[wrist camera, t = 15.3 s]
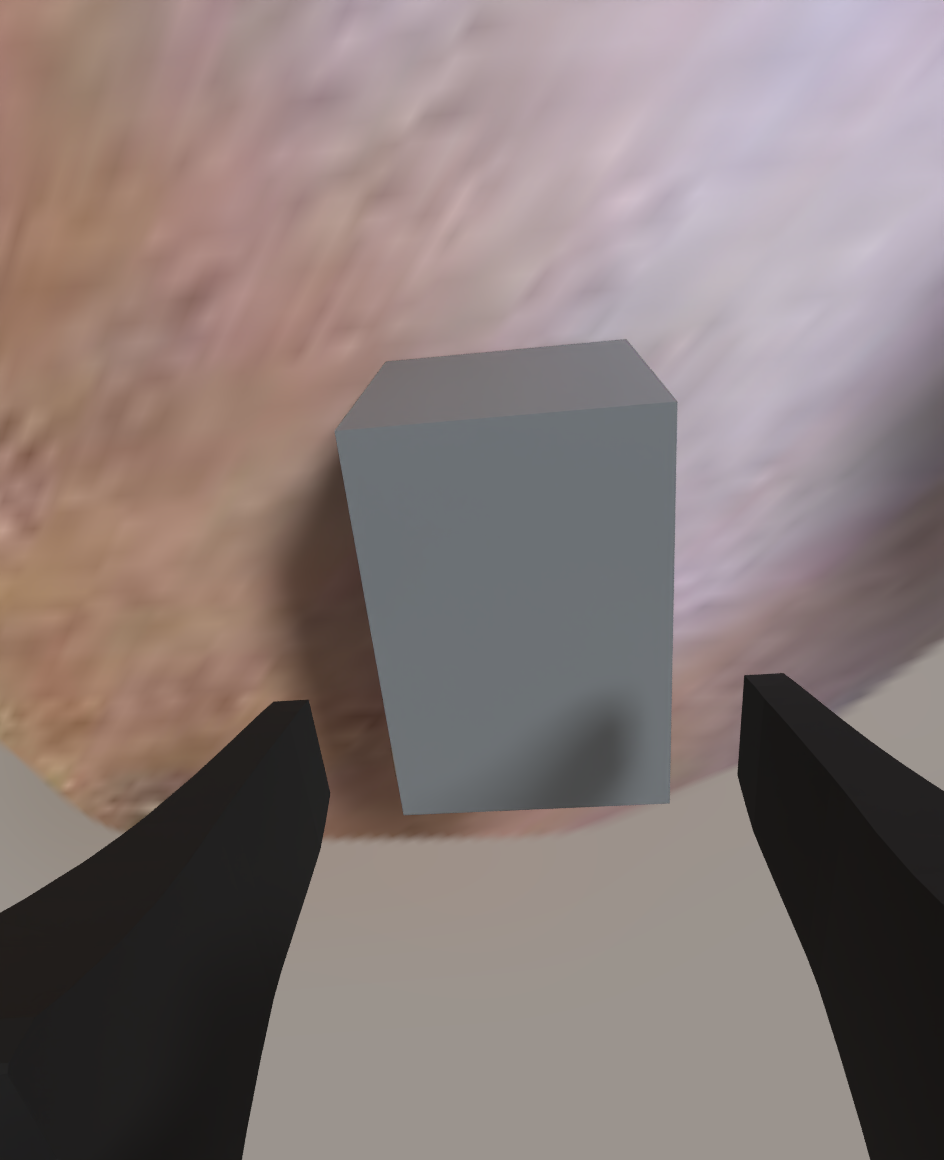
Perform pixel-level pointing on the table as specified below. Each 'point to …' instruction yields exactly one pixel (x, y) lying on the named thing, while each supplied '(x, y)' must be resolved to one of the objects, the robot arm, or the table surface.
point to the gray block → (519, 574)
